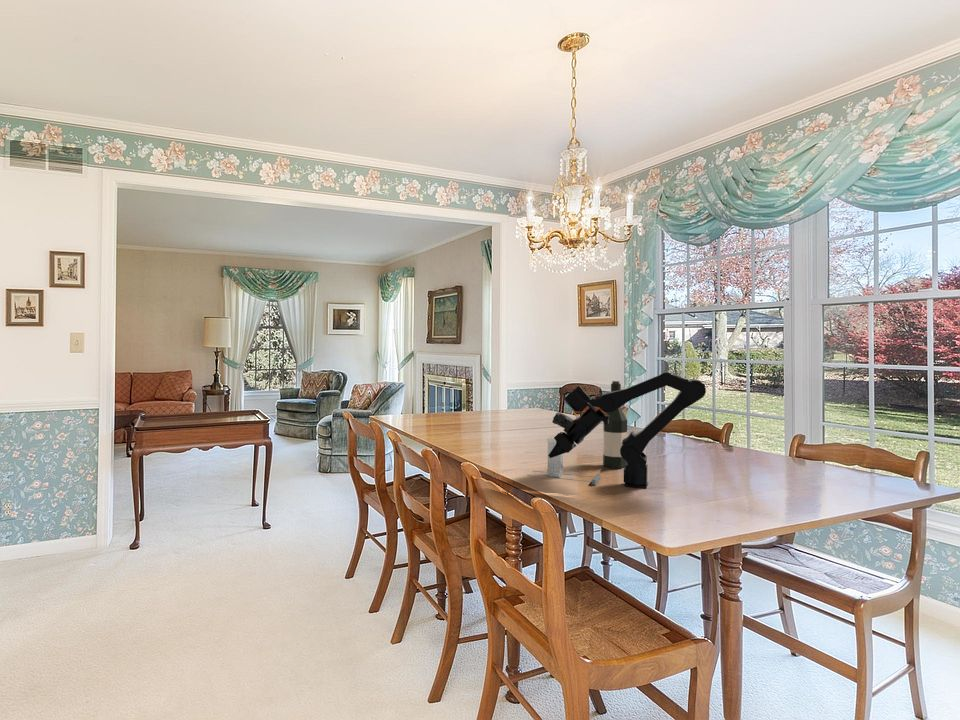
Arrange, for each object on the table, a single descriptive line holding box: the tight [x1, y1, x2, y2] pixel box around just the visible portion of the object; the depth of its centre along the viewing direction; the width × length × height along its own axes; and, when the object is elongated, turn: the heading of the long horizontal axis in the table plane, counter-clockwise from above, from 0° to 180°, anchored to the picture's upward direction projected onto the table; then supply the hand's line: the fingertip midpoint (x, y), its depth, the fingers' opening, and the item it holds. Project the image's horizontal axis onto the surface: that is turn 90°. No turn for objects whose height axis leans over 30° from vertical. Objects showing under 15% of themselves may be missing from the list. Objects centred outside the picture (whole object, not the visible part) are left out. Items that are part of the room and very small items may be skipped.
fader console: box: [526, 470, 601, 486], centre depth 177 cm, size 23×9×2 cm, turn 68°
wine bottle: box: [602, 380, 628, 470], centre depth 195 cm, size 8×8×30 cm
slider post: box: [546, 436, 564, 478], centre depth 178 cm, size 4×4×12 cm
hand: (551, 455), depth 179 cm, fingers closed on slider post, 4 cm apart
